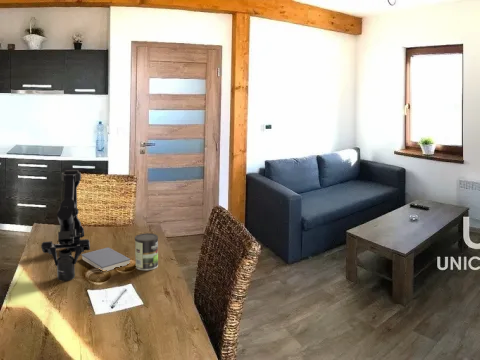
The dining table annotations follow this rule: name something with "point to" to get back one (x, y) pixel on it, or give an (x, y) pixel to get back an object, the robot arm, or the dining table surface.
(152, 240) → the coffee can
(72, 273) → the supplement bottle
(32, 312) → the dining table surface
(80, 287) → the dining table surface
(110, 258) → the book
